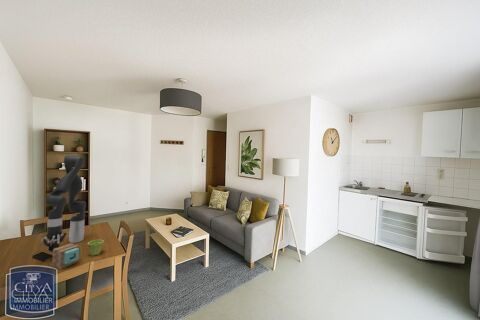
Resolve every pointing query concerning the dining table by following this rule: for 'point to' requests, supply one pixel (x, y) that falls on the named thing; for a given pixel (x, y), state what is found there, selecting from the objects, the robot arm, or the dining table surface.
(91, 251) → the plant pot
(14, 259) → the dining table surface
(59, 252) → the bearing block
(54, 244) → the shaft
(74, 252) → the teal toy camera
